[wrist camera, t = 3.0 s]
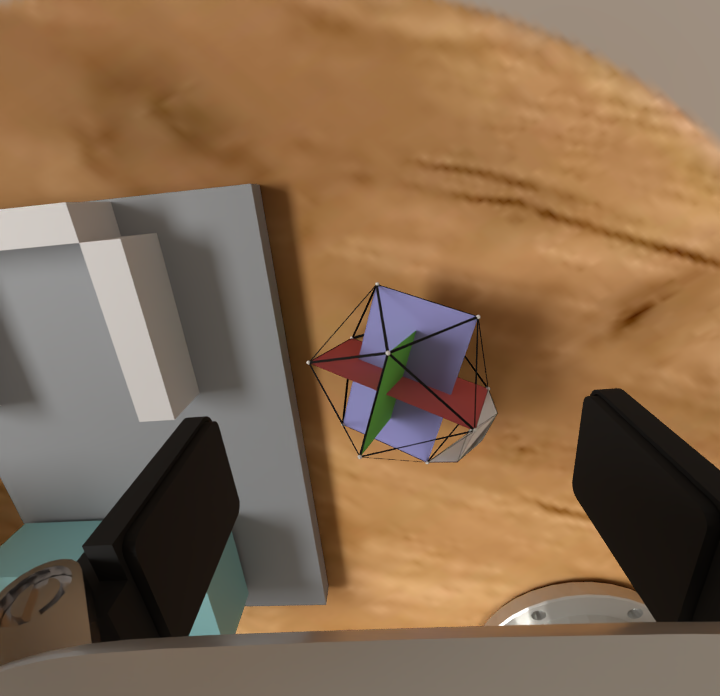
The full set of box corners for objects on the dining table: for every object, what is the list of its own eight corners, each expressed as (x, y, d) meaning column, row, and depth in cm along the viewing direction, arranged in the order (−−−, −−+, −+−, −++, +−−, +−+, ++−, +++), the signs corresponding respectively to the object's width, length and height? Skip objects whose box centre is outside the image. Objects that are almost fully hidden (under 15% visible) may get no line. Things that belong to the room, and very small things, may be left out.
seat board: (259, 184, 17) (228, 181, 13) (328, 586, 25) (320, 647, 22) (-97, 223, 18) (-209, 229, 15) (80, 592, 27) (36, 651, 23)
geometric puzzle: (272, 407, 18) (369, 539, 13) (295, 261, 16) (430, 344, 10) (390, 390, 23) (503, 484, 17) (422, 274, 20) (569, 337, 14)
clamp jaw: (227, 515, 22) (179, 614, 17) (248, 593, 24) (212, 702, 19) (25, 523, 23) (-79, 618, 18) (63, 597, 25) (-21, 702, 20)
